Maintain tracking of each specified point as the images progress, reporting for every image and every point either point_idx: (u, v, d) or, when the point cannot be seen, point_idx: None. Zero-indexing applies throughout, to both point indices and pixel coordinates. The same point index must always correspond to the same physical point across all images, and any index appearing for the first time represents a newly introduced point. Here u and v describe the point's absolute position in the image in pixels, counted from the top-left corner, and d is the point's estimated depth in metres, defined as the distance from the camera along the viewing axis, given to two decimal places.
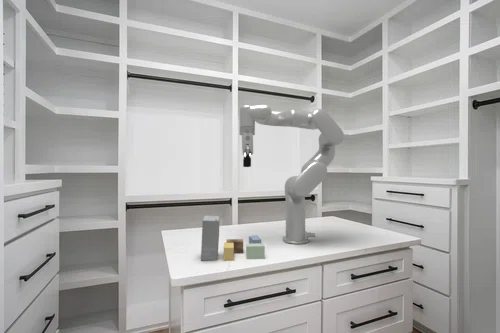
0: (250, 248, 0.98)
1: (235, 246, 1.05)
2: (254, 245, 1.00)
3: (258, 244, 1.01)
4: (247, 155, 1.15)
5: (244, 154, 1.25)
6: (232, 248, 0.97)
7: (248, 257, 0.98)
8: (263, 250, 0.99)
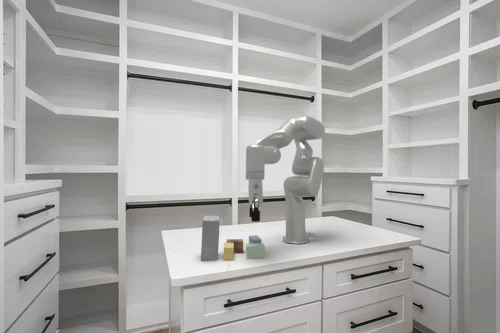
0: (250, 248, 0.98)
1: (235, 246, 1.05)
2: (254, 245, 1.00)
3: (258, 244, 1.01)
4: (256, 208, 0.93)
5: None
6: (232, 248, 0.97)
7: (248, 257, 0.98)
8: (263, 250, 0.99)
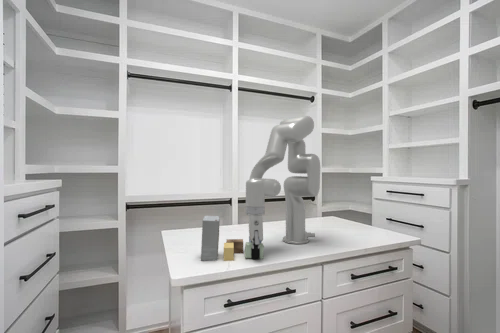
0: (250, 247, 0.98)
1: (235, 246, 1.05)
2: None
3: None
4: (255, 247, 0.96)
5: None
6: (232, 248, 0.97)
7: (246, 255, 0.98)
8: (262, 249, 0.99)
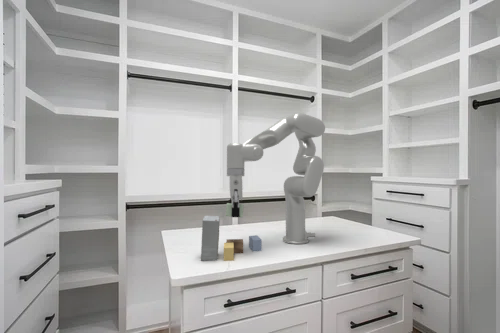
0: (230, 206, 1.05)
1: (235, 246, 1.05)
2: None
3: None
4: (235, 205, 1.02)
5: (232, 198, 1.08)
6: (232, 248, 0.97)
7: (227, 214, 1.04)
8: (242, 209, 1.05)
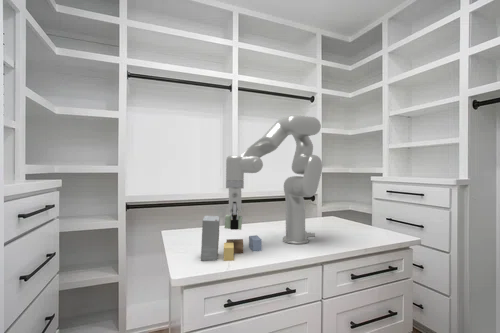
0: (229, 218, 1.05)
1: (235, 246, 1.05)
2: None
3: None
4: (234, 217, 1.03)
5: (231, 210, 1.09)
6: (232, 248, 0.97)
7: (226, 226, 1.05)
8: (241, 221, 1.05)
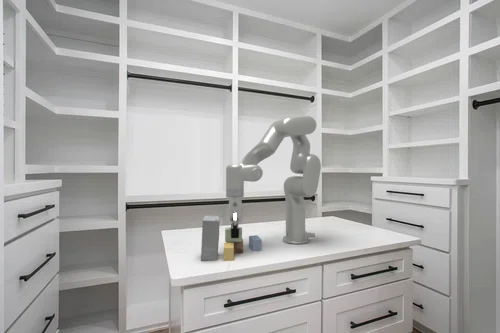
0: (228, 231, 1.05)
1: (235, 246, 1.05)
2: None
3: None
4: (234, 226, 1.01)
5: None
6: (232, 248, 0.97)
7: (226, 239, 1.05)
8: (241, 233, 1.05)
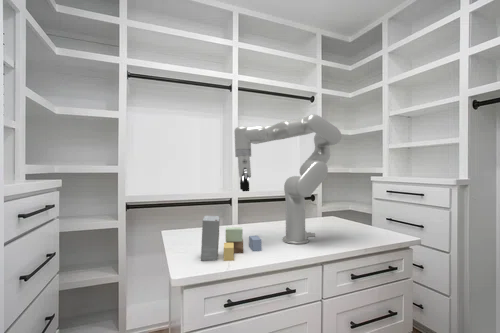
0: (229, 231, 1.05)
1: (235, 246, 1.05)
2: (233, 228, 1.06)
3: (237, 228, 1.07)
4: (245, 180, 1.11)
5: None
6: (232, 248, 0.97)
7: (226, 239, 1.05)
8: (241, 233, 1.05)
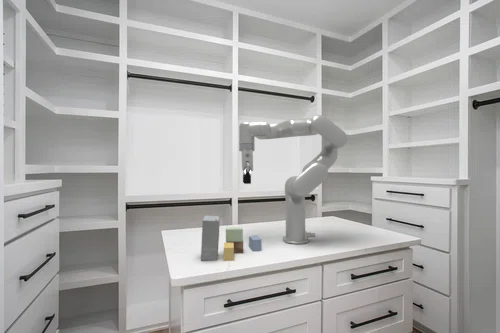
0: (229, 231, 1.05)
1: (235, 246, 1.05)
2: (233, 228, 1.06)
3: (237, 228, 1.07)
4: (247, 172, 1.16)
5: None
6: (232, 248, 0.97)
7: (227, 239, 1.05)
8: (241, 233, 1.05)
